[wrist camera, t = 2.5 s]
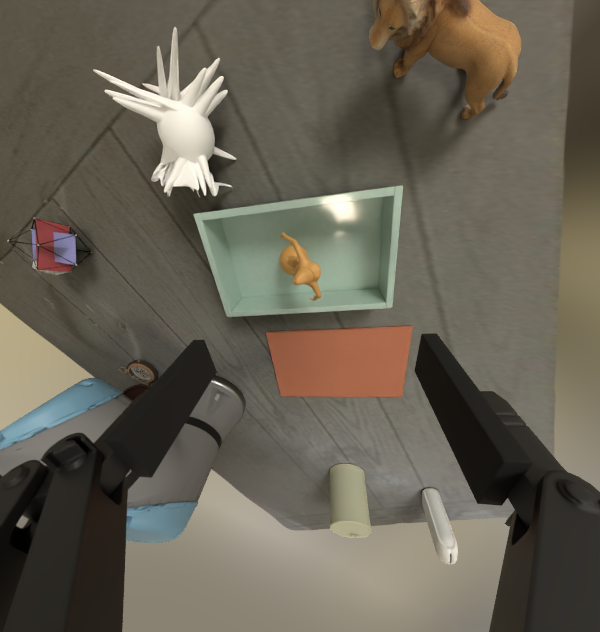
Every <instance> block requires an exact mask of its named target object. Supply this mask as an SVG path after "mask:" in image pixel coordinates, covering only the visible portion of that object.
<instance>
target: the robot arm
mask: <svg viewBox="0 0 600 632" xmlns="http://www.w3.org/2000/svg"><path fill="white" fill-rule="evenodd" d="M216 372H217V371H216V369H215V366H214V364H213V361H212V359H211V356H210V353H209V351H208V348H207V346H206V343H205V341H204V340H193V341H192V342H191V343H190V345H189V346H188V347H187V348H186V349H185V350H184V351H183V352H182V353H181V355H180V356H179V357H178V358H177V359H176V360H175V361H174V362H173V364H172V365H171V366H170V367H169V368H168V369H167V370H166V371H165V372H164V374H163V375H162V376H161V377H160V378H159V379H158V380H157V381H156V383H155V384H154V385H153V386H152V387H151V388H150V389H147V390H145V391H144V392H142V393H141V394H140V395H138V396H137V397H136V398H135V399H134V400H133V401H132V400H131V399H129V398H128V397H127V396H125V395H124V394H123V393H124V392H123V391H122V390H117V389H116V388H114V387H113V386H111V385H110V384H108V383H106V382H105V381H103V380H101V379H98V378H88V379H85V380H82V381H80V382H79V383H77V384H75V385H73V386H72V387H70V388H68V389H67V390H65V391H64V392H62V393H60V394H59V395H57V396H56V397H54V398H52V399H51V400H49V401H47V402H46V403H44V404H42V405H41V406H39V407H38V408H36V409H34V410H33V411H31V412H30V413H28V414H26V415H25V416H23V417H22V418H20V419H18V420H17V421H15V422H14V423H12V424H10V425H9V426H7V427H6V428H4V429H3V430H1V431H0V632H122V622H123V597H124V573H125V549H126V547H125V546H126V541H134V542H145V543H163V542H169V541H172V540H174V539H176V538H177V537H178V536H180V535H181V533H182V532H183V531H184V529H185V527H186V525H187V523H188V521H189V519H190V517H191V515H192V513H193V511H194V509H195V507H196V506H197V504H198V499H199V497H200V495H201V492H202V490H203V487H204V485H205V482H206V480H207V477H208V475H209V472H210V470H211V468H212V465H213V463H214V461H215V458H216V456H217V453H218V451H219V448H220V446H221V444H222V441H223V440H224V439H225V437H226V436H227V435H228V434H229V433H230V431H231V430H232V429H233V427H234V426H235V425H236V424H237V423H238V422H239V420H240V419H241V417H242V415H243V412H244V410H245V399H244V397H243V395H242V393H241V392H240V391H239V389H238V388H237V387H235V386H234V385H233V384H232V383H230V382H229V381H227V380H225V379H223V378H221V377H218V376H215V374H216ZM415 373H416V375H417V377H418V379H419V381H420V383H421V385H422V388H423V390H424V392H425V394H426V396H427V398H428V400H429V402H430V404H431V406H432V409H433V411H434V413H435V415H436V417H437V419H438V421H439V423H440V425H441V428H442V430H443V432H444V434H445V436H446V438H447V440H448V442H449V444H450V447H451V449H452V451H453V453H454V455H455V457H456V459H457V461H458V463H459V465H460V468H461V470H462V472H463V474H464V476H465V478H466V480H467V482H468V484H469V487H470V489H471V491H472V493H473V495H474V497H475V499H476V501H477V503H478V504H490V505H502V504H503V503H504V502H505V500H506V499H507V498H508V499H509V500H510V502H511V504H512V505H513V507H514V509H515V511H514V512H513V513H512V514H511V516H510V517H509V518H508V520H507V521H506V523H505V524H506V525H507V526H510V530H509V536H508V540H507V545H506V550H505V555H504V560H503V565H502V570H501V576H500V580H499V585H498V590H497V595H496V601H495V605H494V610H493V615H492V621H491V625H490V631H489V632H600V492H599V491H598V490H597V489H595V488H594V487H593V486H592V485H591V484H589V483H588V482H586V481H584V480H583V479H581V478H580V477H578V476H575V475H573V474H571V473H568V472H567V471H566V470H565V469H564V468H563V467H562V466H561V465H560V464H559V463H558V461H557V460H556V459H555V458H554V457H553V455H552V454H551V453H550V452H549V451H548V450H547V448H546V447H545V446H544V445H543V444H542V442H541V441H540V440H539V439H538V438H537V436H536V435H535V434H534V433H533V432H532V431H531V429H530V428H529V427H528V426H526V423H525V422H524V421H523V420H522V419H521V417H520V416H518V415H517V413H516V412H515V410H514V409H513V408H512V407H511V406H510V404H509V403H508V402H507V401H506V400H504V399H503V398H501V397H500V396H499V395H497V394H496V393H495V392H492V391H479V389H478V388H477V387H476V385H475V384H474V383H473V381H472V380H471V379H470V377H469V376H468V375H467V373H466V372H465V371H464V369H463V368H462V367H461V365H460V364H459V363H458V361H457V360H456V359H455V357H454V356H453V355H452V353H451V352H450V351H449V349H448V348H447V347H446V345H445V344H444V343H443V341H442V340H441V339H440V337H439V336H438V335H437V334H422V335H421V340H420V345H419V351H418V356H417V361H416V366H415Z"/></svg>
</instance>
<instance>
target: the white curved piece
mask: <svg viewBox="0 0 600 632" xmlns="http://www.w3.org/2000/svg"><path fill="white" fill-rule="evenodd" d="M422 505H423V509H424V512H425V516H426V519H427V522H428V526H429V529H430V532H431V536H432V539H433V542H434V545H435V549H436V552H437V554H438V556H439V558H440V559H441V560H442V561H443V562H444V563H446V564H454V563H455V562H456V560H457V556H458V548H457V542H456V539H455V536H454V534H453V531H452V528H451V525H450V522H449V520H448V517H447V514H446V511H445V509H444V506H443V503H442V501H441V498H440V495H439V493H438V491H437V490H435V489H433V488H427V489H424V490H423V491H422Z"/></svg>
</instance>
